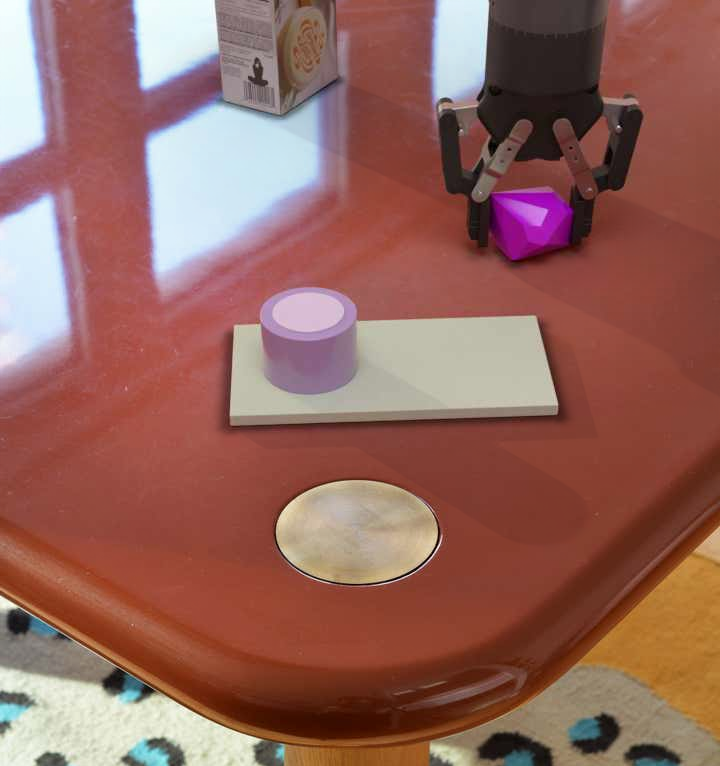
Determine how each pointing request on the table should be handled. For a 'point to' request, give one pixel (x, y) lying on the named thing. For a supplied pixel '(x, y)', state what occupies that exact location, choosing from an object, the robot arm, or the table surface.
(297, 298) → the lavender cylindrical tub
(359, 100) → the table surface
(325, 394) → the board
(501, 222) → the crystal
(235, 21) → the cookie box
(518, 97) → the robot arm
